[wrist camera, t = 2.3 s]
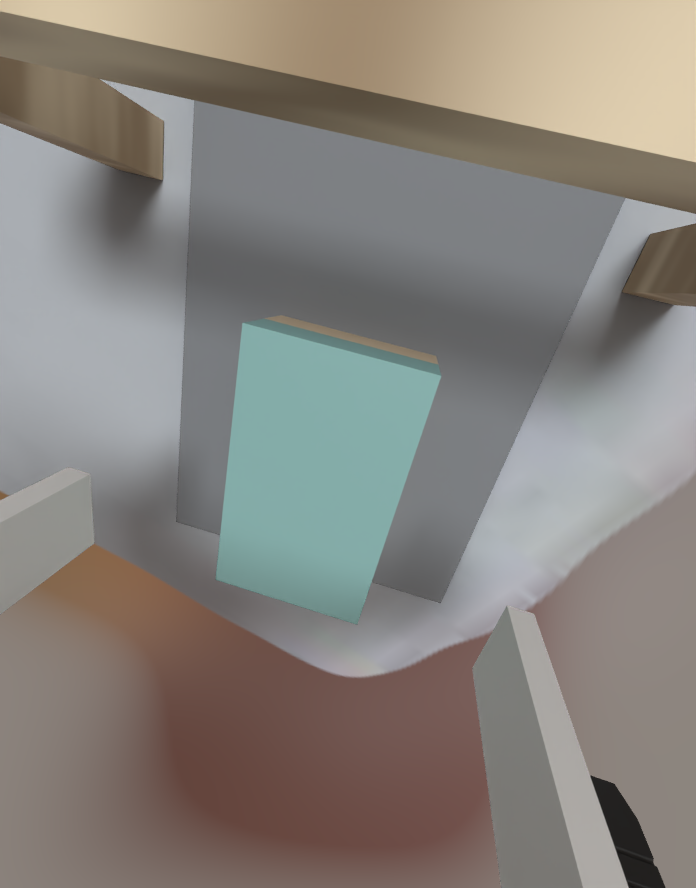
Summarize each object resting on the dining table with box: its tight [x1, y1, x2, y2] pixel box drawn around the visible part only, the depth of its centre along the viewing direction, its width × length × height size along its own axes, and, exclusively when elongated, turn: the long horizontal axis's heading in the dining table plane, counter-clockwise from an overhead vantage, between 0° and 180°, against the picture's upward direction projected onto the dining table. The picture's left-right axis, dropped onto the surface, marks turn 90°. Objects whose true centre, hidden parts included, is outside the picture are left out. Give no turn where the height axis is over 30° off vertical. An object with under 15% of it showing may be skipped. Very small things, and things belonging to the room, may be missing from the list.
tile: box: [215, 315, 441, 625], centre depth 17 cm, size 7×12×4 cm, turn 167°
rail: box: [0, 0, 696, 306], centre depth 9 cm, size 23×2×12 cm, turn 77°
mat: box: [176, 100, 625, 603], centre depth 17 cm, size 16×24×1 cm, turn 167°
